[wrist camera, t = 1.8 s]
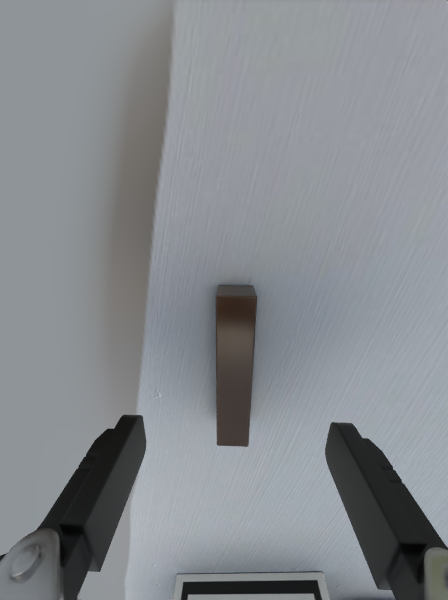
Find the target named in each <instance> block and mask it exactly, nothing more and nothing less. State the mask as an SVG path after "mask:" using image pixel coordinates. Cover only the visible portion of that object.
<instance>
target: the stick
mask: <svg viewBox="0 0 448 600" xmlns="http://www.w3.org/2000/svg"><path fill="white" fill-rule="evenodd" d="M256 308H257V296H256V293H255V290H254V287H253V286H237V285H219V286H218V289H217V294H216V395H217V445H219V446H245V447H247V446H248V444H249V427H250V410H251V393H252V376H253V359H254V342H255V325H256Z"/></svg>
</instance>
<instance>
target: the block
mask: <svg viewBox="0 0 448 600" xmlns="http://www.w3.org/2000/svg"><path fill="white" fill-rule="evenodd" d="M173 600H330V597H329V593H328V590H327V586H326V582H325V578H324V574H323V572H307V573H243V574H179V575H177V577H176V584H175V590H174V596H173Z"/></svg>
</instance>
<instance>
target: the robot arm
mask: <svg viewBox="0 0 448 600" xmlns="http://www.w3.org/2000/svg"><path fill="white" fill-rule="evenodd" d="M145 450H146V436H145V429H144V423H143V417H142V416H141V415H123V416H122V417H121V418H120V420H119V421H118V423H117V425H116V427H115V428H114V429H107V430H106V431H105V432H104V433H103V434H101V435H100V436H99V437H98V438H97V439H96V440H95V441H94V443H93V444H92V446H91V448H90V449H89V451H88V452H87V454H86V457H84V459H83V460H82V462H81V463H80V465H79V468H78V469H77V470H76V471H75V473H74V474H73V476H72V477H71V479H70V480H69V482H68V484H67V485H66V487H65V488H64V490H63V491H62V493H61V494H60V496H59V497H58V499H57V501H56V502H55V504H54V505H53V507H52V508H51V510H50V512H49V513H48V515H47V516H46V518H45V519H44V521H43V522H42V523H41V525H40V526H39V527H38V528H37V530H36V531H34V532H32V533H30V534H28V535H27V536H25V537H24V538H23V539H21V540H20V541H19V542H18V543H17V544H16V545H15V546H13V547H12V548H11V549H10V551H9V552H8V553H6V554H4V555H1V556H0V600H80V589H81V587H82V584H83V582H84V579H85V577H86V575H87V572H88V571H95V572H100V570H101V567H102V565H103V562H104V560H105V557H106V554H107V552H108V549H109V546H110V544H111V541H112V538H113V536H114V533H115V531H116V528H117V525H118V523H119V520H120V518H121V515H122V513H123V510H124V507H125V504H126V502H127V500H128V497H129V494H130V492H131V489H132V486H133V484H134V481H135V479H136V476H137V473H138V471H139V468H140V466H141V463H142V460H143V458H144V454H145ZM325 455H326V461H327V464H328V467H329V470H330V472H331V475H332V477H333V480H334V482H335V484H336V487H337V489H338V492H339V494H340V497H341V499H342V502H343V504H344V507H345V509H346V512H347V514H348V517H349V519H350V522H351V524H352V527H353V529H354V532H355V534H356V537H357V539H358V541H359V544H360V546H361V549H362V551H363V554H364V556H365V559H366V561H367V564H368V566H369V569H370V571H371V574H372V576H373V579H374V581H375V584H376V586H377V589H381V590H392V592H393V594H394V597H395V599H396V600H448V548H447V546H446V545H445V544H444V542H443V541H442V540H441V538H440V537H439V535H438V534H437V532H436V531H435V529H434V528H433V526H432V525H431V523H430V522H429V520H428V519H427V517H426V516H425V514H424V513H423V511H422V510H421V508H420V507H419V505H418V504H417V503H416V501H415V500H414V498H413V497H412V495H411V494H410V492H409V491H408V489H407V488H406V486H405V485H404V484H403V483H402V480H401V479H400V477H399V476H398V474H397V473H396V471H395V470H393V467H392V465H391V464H390V462H389V461H388V459H387V458H386V456H385V455H384V453H383V452H382V451H381V450H380V449H379V448H378V447H377V446H376V445H375V444H374V443H373V442H371V441H370V440H369V439H365V438H362V437H361V436H360V434H359V432H358V431H357V429H356V428H355V426H354V425H353V424H352V423H335V422H332V423H331V425H330V429H329V433H328V438H327V443H326V448H325Z"/></svg>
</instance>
